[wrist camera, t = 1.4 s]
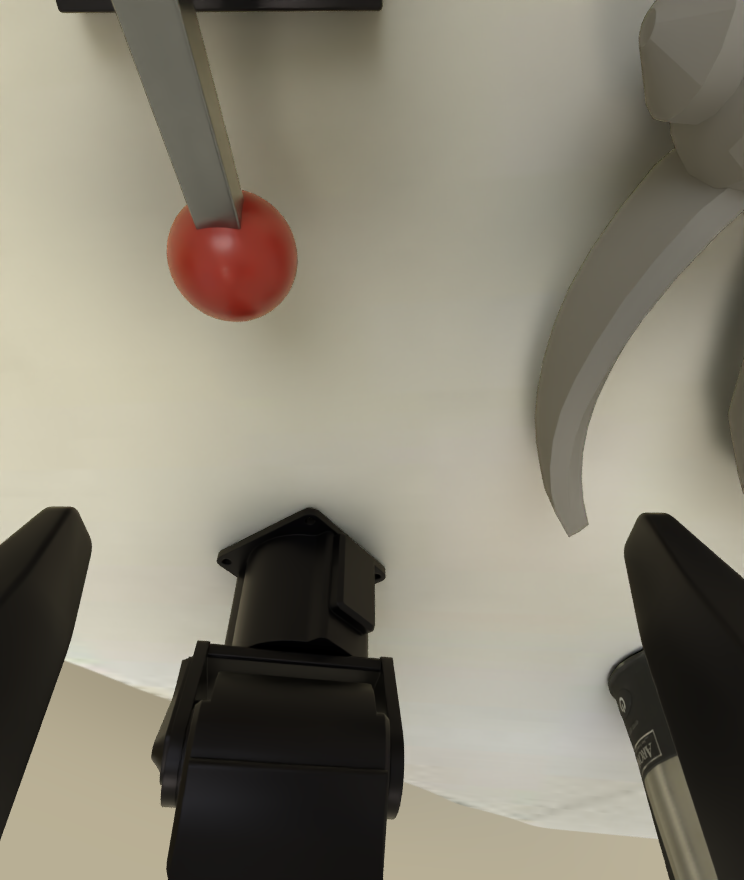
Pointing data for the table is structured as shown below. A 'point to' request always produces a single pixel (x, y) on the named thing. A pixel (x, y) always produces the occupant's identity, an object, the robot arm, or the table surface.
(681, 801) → the milk frother
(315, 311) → the table surface
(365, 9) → the bracket
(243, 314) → the tap lever
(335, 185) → the table surface
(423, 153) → the table surface
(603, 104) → the table surface
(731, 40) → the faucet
